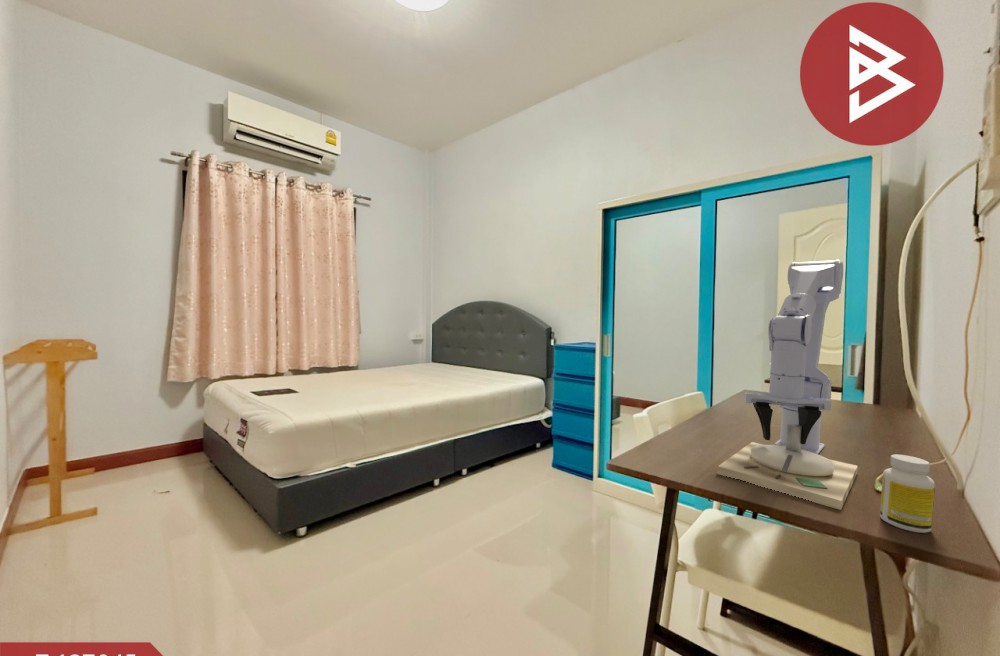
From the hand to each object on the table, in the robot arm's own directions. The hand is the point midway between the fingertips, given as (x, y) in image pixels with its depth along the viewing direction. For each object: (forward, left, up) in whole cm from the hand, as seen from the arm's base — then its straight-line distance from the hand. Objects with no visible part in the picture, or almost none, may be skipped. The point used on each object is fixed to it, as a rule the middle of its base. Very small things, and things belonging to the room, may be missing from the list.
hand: (783, 440), depth 82 cm
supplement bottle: (+14, +18, -5) cm, 24 cm away
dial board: (+5, +2, -5) cm, 7 cm away
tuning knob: (+7, +2, -3) cm, 7 cm away
